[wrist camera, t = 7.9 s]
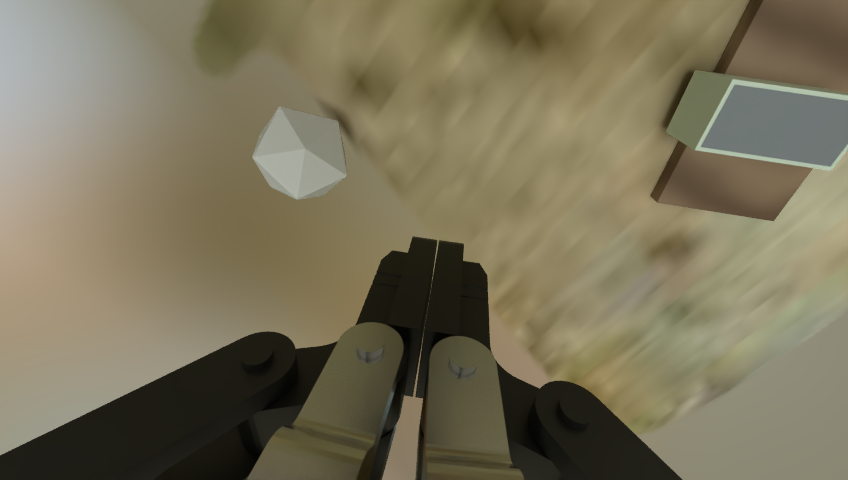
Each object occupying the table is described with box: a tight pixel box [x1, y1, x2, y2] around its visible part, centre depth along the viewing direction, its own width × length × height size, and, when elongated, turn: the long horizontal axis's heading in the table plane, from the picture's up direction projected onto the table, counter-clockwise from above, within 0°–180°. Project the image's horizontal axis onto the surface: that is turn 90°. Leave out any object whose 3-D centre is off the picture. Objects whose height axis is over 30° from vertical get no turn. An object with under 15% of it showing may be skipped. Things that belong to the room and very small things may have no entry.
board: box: [651, 0, 848, 221], centre depth 30 cm, size 18×11×2 cm, turn 173°
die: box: [252, 106, 347, 200], centre depth 34 cm, size 8×9×10 cm
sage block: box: [666, 70, 848, 171], centre depth 28 cm, size 5×5×10 cm
